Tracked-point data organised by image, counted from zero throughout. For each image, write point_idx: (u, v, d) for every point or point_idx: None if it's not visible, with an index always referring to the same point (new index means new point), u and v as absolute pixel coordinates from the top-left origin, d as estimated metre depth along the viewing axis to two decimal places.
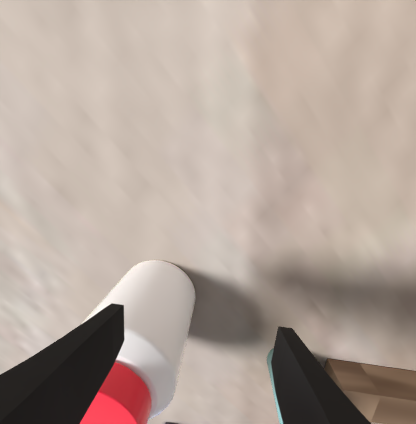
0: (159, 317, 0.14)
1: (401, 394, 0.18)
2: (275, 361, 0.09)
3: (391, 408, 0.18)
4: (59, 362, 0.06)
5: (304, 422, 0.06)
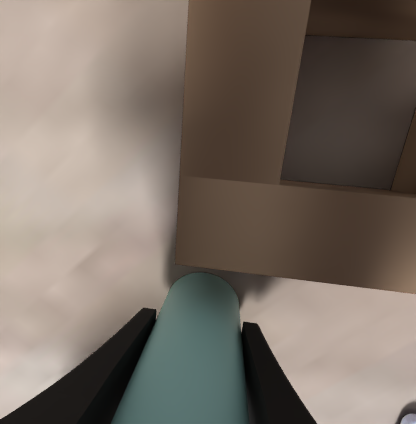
0: None
1: None
2: None
3: (220, 139, 0.06)
4: (109, 370, 0.06)
5: (254, 414, 0.06)
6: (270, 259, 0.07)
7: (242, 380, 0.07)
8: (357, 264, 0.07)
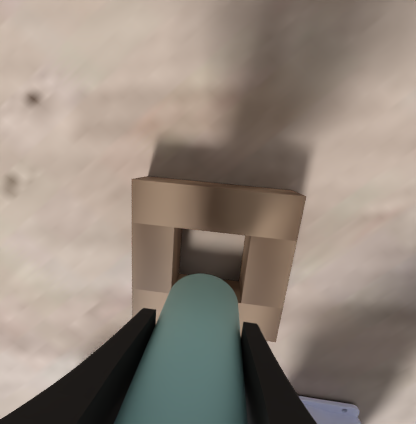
0: None
1: None
2: None
3: (147, 277, 0.16)
4: (109, 370, 0.06)
5: (254, 414, 0.06)
6: None
7: (242, 383, 0.07)
8: None
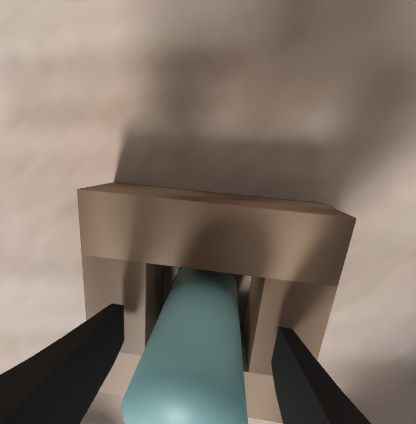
0: None
1: None
2: (275, 361, 0.09)
3: None
4: (59, 362, 0.06)
5: (304, 422, 0.06)
6: None
7: (239, 339, 0.09)
8: None
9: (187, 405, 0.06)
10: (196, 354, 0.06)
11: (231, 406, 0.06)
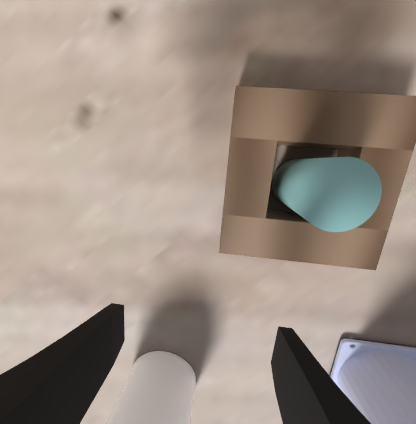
0: None
1: None
2: (275, 361, 0.09)
3: (241, 200, 0.15)
4: (59, 362, 0.06)
5: (304, 422, 0.06)
6: (262, 250, 0.16)
7: None
8: (300, 251, 0.16)
9: (345, 184, 0.11)
10: None
11: (373, 181, 0.10)
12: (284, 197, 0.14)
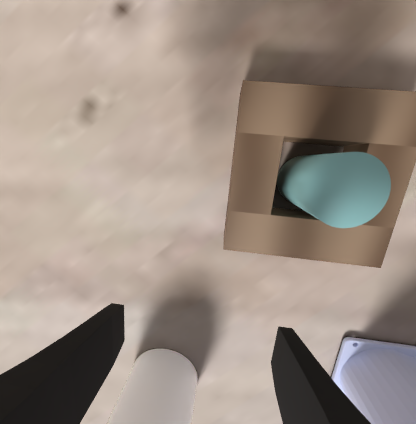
0: None
1: (230, 183, 0.15)
2: (275, 361, 0.09)
3: (246, 196, 0.15)
4: (59, 362, 0.06)
5: (304, 422, 0.06)
6: (267, 246, 0.16)
7: None
8: (305, 248, 0.16)
9: (354, 179, 0.10)
10: None
11: (382, 177, 0.10)
12: (290, 193, 0.14)
